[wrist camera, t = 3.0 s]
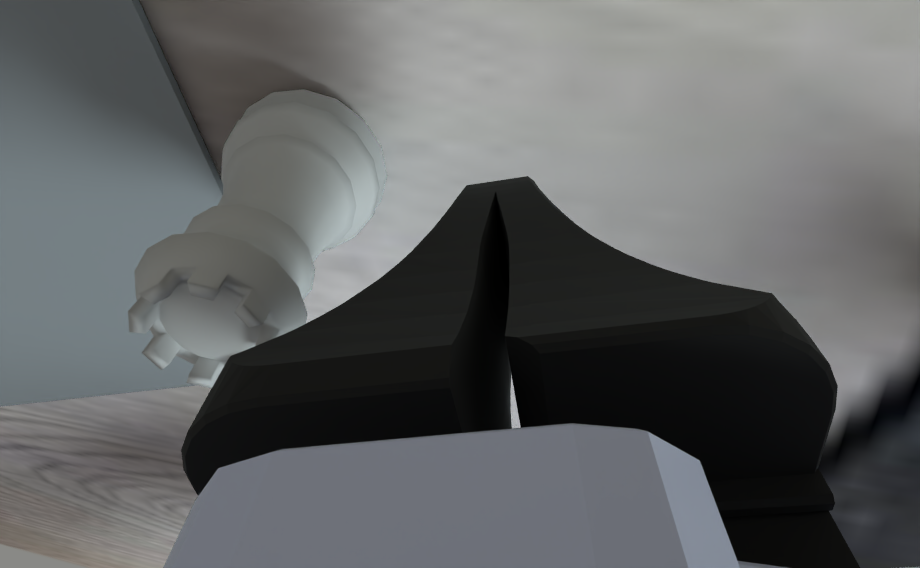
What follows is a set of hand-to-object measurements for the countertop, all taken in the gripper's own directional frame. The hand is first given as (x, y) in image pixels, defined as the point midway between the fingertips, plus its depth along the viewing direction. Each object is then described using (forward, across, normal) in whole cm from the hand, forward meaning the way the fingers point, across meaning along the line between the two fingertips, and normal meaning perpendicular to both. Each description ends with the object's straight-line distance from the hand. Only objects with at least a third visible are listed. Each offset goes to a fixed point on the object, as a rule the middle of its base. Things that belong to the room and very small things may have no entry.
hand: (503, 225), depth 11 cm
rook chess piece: (+6, +6, 0) cm, 8 cm away
